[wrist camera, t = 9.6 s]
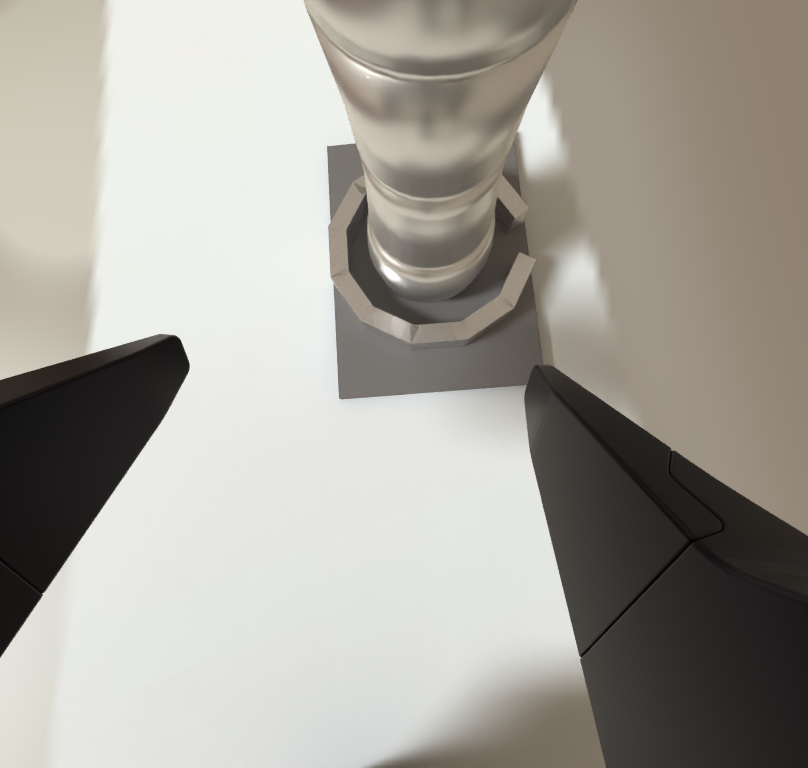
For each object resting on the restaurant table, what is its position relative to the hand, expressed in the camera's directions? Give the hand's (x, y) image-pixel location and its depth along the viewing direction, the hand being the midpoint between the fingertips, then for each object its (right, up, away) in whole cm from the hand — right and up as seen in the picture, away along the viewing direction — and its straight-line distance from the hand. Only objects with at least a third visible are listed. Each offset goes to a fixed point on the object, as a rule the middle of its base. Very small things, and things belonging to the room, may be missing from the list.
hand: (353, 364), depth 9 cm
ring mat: (+3, +7, +13) cm, 15 cm away
